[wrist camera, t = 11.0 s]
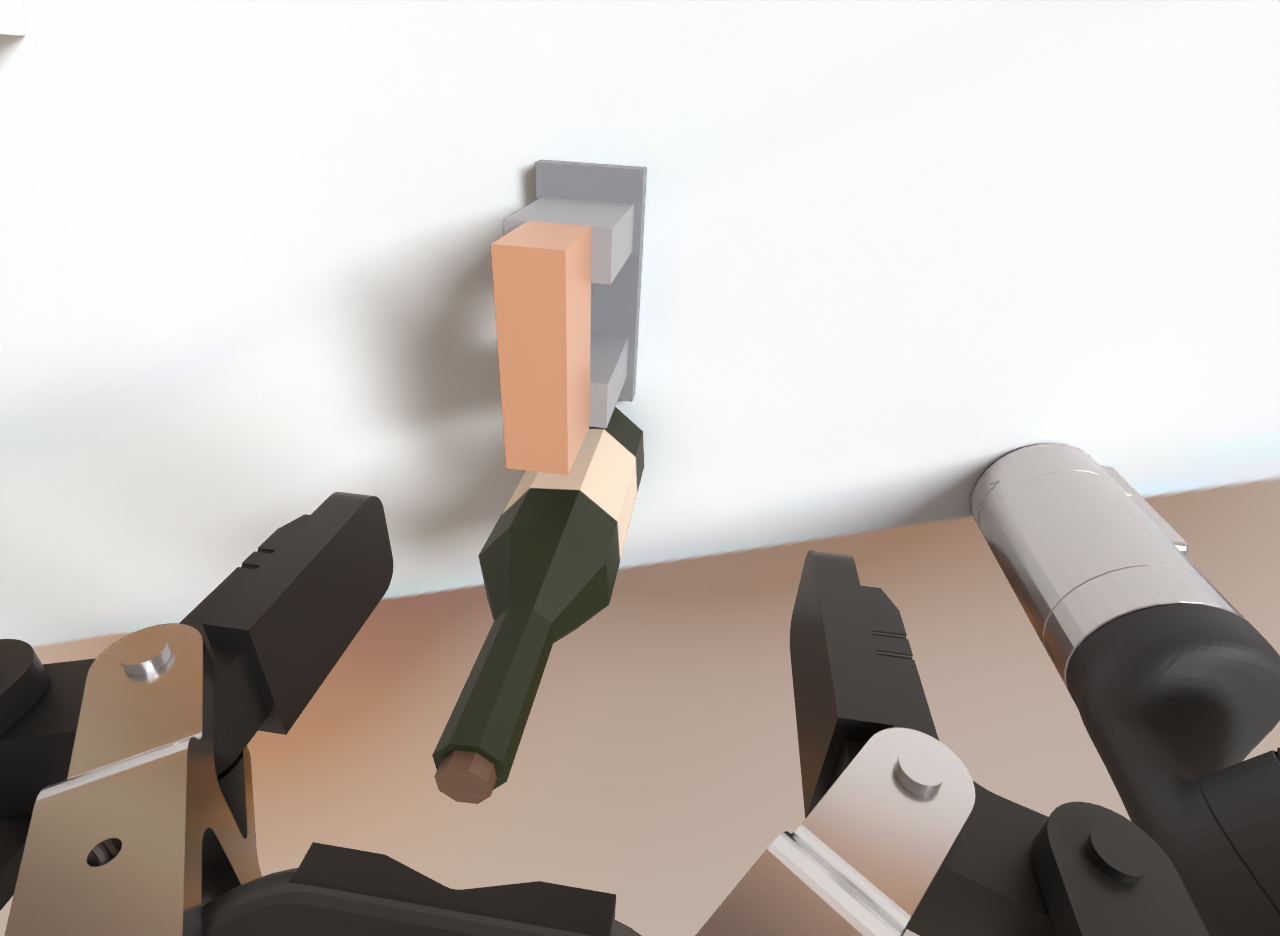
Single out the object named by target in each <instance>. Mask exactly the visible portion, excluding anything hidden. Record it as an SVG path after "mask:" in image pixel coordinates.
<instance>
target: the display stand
mask: <svg viewBox="0 0 1280 936" xmlns="http://www.w3.org/2000/svg"><path fill="white" fill-rule="evenodd" d="M535 174H536V201H534V202H532V203H531V204H529V205H527V206H525V207H523V208H522V209H520V210H518V211H516V212H514V213H513V214H511V215H509V216H507V217H505V218H503V234H504V235H506V234H508V233H509V232H511V231H512V230H514V229H515V228H517V227H519V226H520V225H522V224H523V223H525V222H527V221H535V222H548V223H561V224H574V225H587V226H591V340H590V427H599V428H607V426H608V423H609V421H610V418H611V415H612V413H613V410H614V408H615V405H616V403H617V400H621V401H631V402H632V401H633V398H634V395H635V383H636V364H637V345H638V326H639V307H640V288H641V269H642V251H643V232H644V213H645V194H646V175H647V167H635V166H621V165H607V164H593V163H580V162H566V161H552V160H539V161H536V162H535Z"/></svg>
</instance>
